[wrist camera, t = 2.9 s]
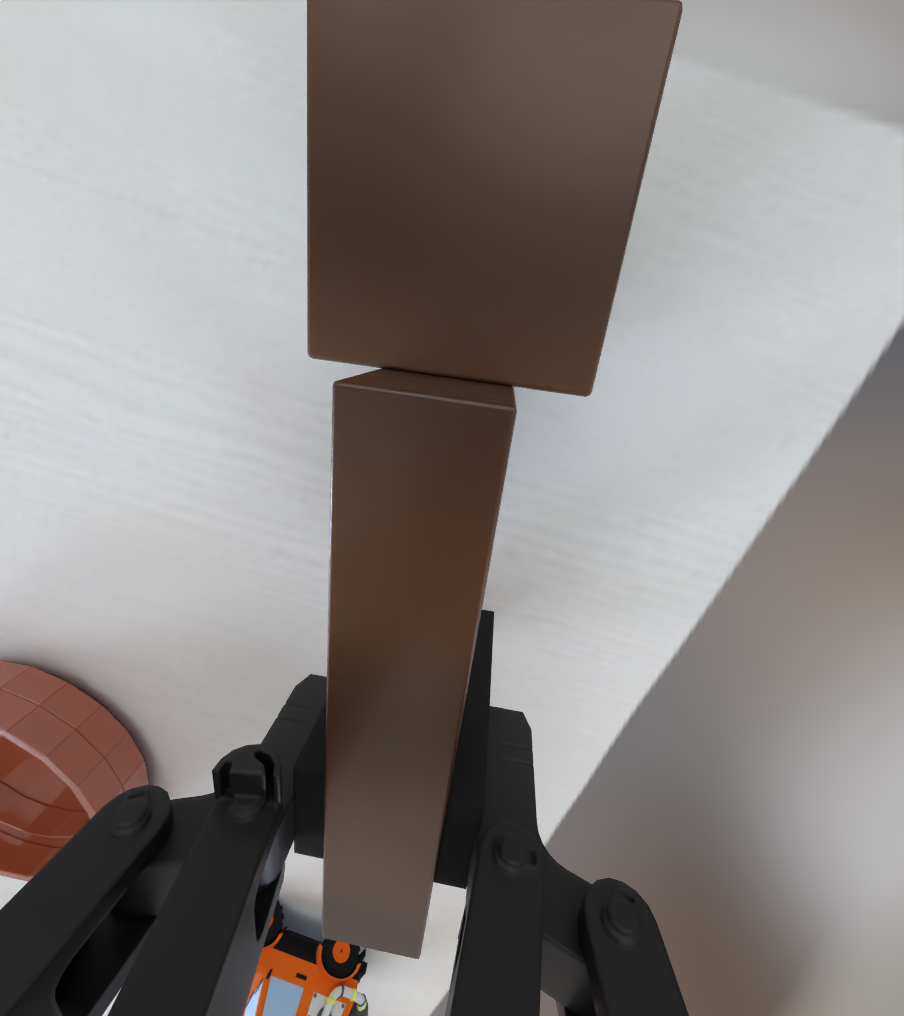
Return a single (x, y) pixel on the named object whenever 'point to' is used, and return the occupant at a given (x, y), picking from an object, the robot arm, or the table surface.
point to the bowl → (55, 765)
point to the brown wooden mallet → (447, 360)
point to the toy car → (306, 976)
